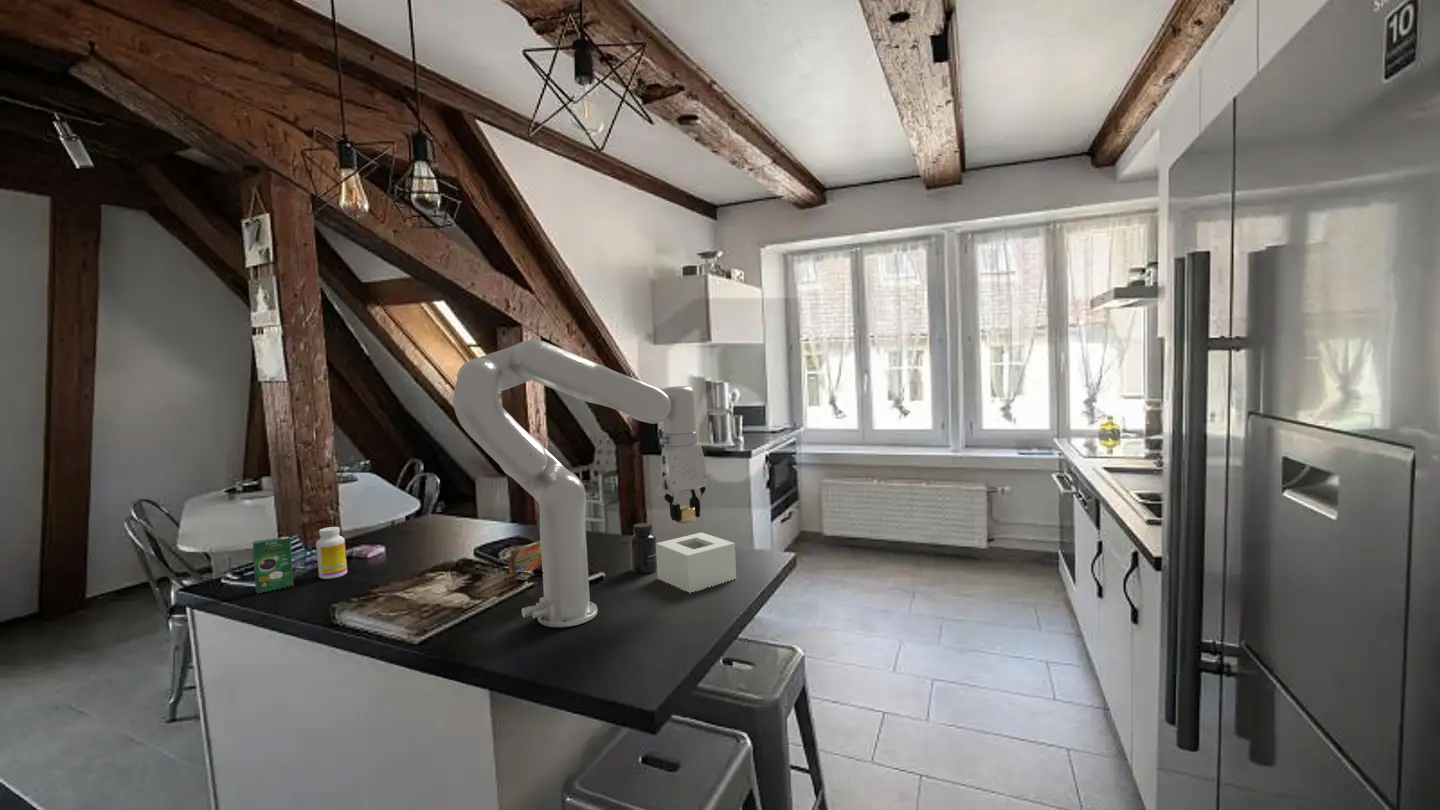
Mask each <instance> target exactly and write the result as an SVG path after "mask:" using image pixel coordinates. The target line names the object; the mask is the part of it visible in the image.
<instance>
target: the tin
mask: <svg viewBox="0 0 1440 810" xmlns="http://www.w3.org/2000/svg"><path fill="white" fill-rule="evenodd" d="M541 565H542V556H541V544H540V540H538V541H535V542H532V543H530V544H527V545H524V546H522V547H518V548H516V549H515V550H514V551H513V552H512V553H511V554H510V556H509V558H508V572H509V574H510V573H517V572H523V571H533V570H535V569H536V568H538V567H539V566H541Z"/></svg>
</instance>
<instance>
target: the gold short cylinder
mask: <svg viewBox="0 0 1440 810" xmlns="http://www.w3.org/2000/svg"><path fill="white" fill-rule="evenodd" d="M680 512H681V521H680V522H677V521H675V522H676V523H678V524H689V523H694V522H696V520H697V517H696V511H695V506H691V505H690V504H686V505H680Z"/></svg>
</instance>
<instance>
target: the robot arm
mask: <svg viewBox="0 0 1440 810" xmlns="http://www.w3.org/2000/svg"><path fill="white" fill-rule="evenodd" d="M456 375H457V376H456V380H455V381H456V383H455V385H454V390H453V398H452V400H453V408H454V412H455V413H454V414H455V415H456V418H457V420H458V422H459V424H460V425H461V427H462V429H464V431H465V432H466V433H467V434H468V435H469V437H470V438H472V439H473V441H474V442H476V443H477V444H478V445H479V446H480V447H481V449H482V450H484V452H485V453H486V454H488V456H490V457H491V458H492V459H493V460H494V461H495V463H497V464H498V465H499V466H500V469H502V471H503V472H504V473H505V474H506V475H508V476H509V477H510V478H512V480H514V481H516V483H517V484H519V485H520V487H521V488H523V490H525V491H526V492H527V493H528V494H529V495H530V496H532V497H533V499H534V500H535V501H536V502H537V503H538V506H539V507H538V508H539V541H540V544H541V556H542V572H543V574H542V585H543V589H542V590H543V596H542V597H539V602H537V603H535V605H528V606H525V607H522V608H521V615H522V617H523V618H527V617H531V616H532V618H533V619H537V622H538V623H540V624H541V625H542V626H544V627H549V628H569V627H573V626H579V625H581V624H584V623H587V622H589V621H592V620H593V619H594V618H596V616H597V614H598V606H597V604H595V603H594V602H592V601H590V598H591V597H590V585H589V584H590V581H589V580H590V579H589V565H588V564H589V563H588V549H587V545H588V544H587V530H586V529H587V528H586V514H587V512H586V511H587V494H586V490H585V487H584V484H583V483H582V481H581V480H580V479H579V477H578V476H577V475H576V474H575V473H573V472H572V471H570V470H568V469H567V468H566V467H565V466H564V465H563V464H562V463H561V462H560V461H559V460H558V459H557V458H556V457H555V456H554V455H553V454H551V452H550V451H548V450H547V449H546V447H545V446H544V445H543V443H541V442H540V440H539V439H538V438H536V437H535V436H533V435H532V434H530V433H529V432H528V431H526V429H524V428H523V426H521V425H520V424H519V423H518V422H517V421H516V419H514V417H513V416H512V415H511V414H510V413H509V412H507V410H506V409H505V408H504V407H503V405H502V404H501V400H500V398H499V395H500V393H501V392H503V391H506V390H508V389H511V388H514V387H517V386H519V385H521V384H525V383H528V382H530V381H532V382H534V383H535V382H536V383H537V384H540V385H542V386H546V387H547V388H551V389H553V390H555V391H558V392H560V393H563V394H565V395H568V396H571V397H573V398H575V399H578V400H581V401H584V402H587V403H591V404H596V405H600V406H603V407H608V408H609V409H610V408H611V409H613V410H616V411H619V412H621V413H623V414H626V415H629V416H630V417H631V418H633V419H634V420H636V421H638V422H643V423H648V424H651V425H652V424H659V423H662V424H663V426H662V427H663V428H662V429H663V434H662V435H663V436H662V437H661V438H659V443H660V444H661V445H663V446H664V447H662V450H661V456H660V482H659V484H658V485H657V487H656V490H655V494H656V495H658V496H659V497H661V498H662V499H664V500H665V501H666V502H667V504H669V514H670V518H671V520H672V521H674V522H676V521H677V522H676V523H678V522H680V521H681V512H680V506H681V505H680V504H679V503H678V502H679V496H680V495H679V494H680V493H681V492H686V491H689V492H690V497H691V498H689V505H691V506H695V511H696V518H700V517H701V500H702V498H703V495H704V494H705V491H706V490H707V489H708V487H709V486H711V484H712V482H711V480H710V479H709V478H708V476H707V467H706V461H705V456H704V452H703V448H702V445H701V444H700V443H698V433H697V432H698V431H697V421H696V420H697V419H696V401H695V392H694V389H693V388H692V387H691V386H688V385H682V386H680V385H679V386H668V387H665V388H658V387H655V386H652V385H650V384H647V383H645V382H643V381H641V380H638V379H635V378H632V377H630V376H628V375H626V374H623V373H620V372H618V371H616V370H613V369H610V368H609V367H606V366H604V365H601V364H600V363H596V362H594V361H592V360H589V359H588V358H585V357H582V356H579V355H577V354H575V353H573V352H570V351H568V350H566V349H563V348H561V347H558V346H556V345H554V344H551V343H549V342H547V341H544V340H540V339H534V338H533V339H527V340H525V341H522V342H519V343H516V344H515V345H512V346H508V347H506V348H504V349H500V350H498V351H497V350H496V351H494V352H490V353H488V354H485V355H482V356H480V357H475V358H472V359H469V360H467V361H466V362H464V363H463V364H462V365H461V367H459V369H458V372H457V374H456ZM666 491H668V492H666Z"/></svg>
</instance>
